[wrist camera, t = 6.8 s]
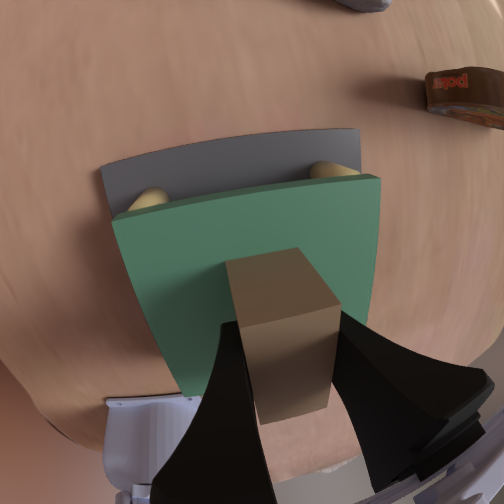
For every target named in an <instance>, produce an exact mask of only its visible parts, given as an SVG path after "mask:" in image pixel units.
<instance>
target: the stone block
mask: <svg viewBox="0 0 504 504" xmlns="http://www.w3.org/2000/svg"><path fill="white" fill-rule="evenodd" d="M334 1H336V2H338V3H340V4H342V5H345V6H347V7H349V8H352V9H354V10H357V11H360V12H363V13H365V12H368V13H373V12H382V11H384V10H385V9H386V8H387V7H389V6H390V4H391V2H392V0H334Z"/></svg>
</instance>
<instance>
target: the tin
mask: <svg viewBox="0 0 504 504" xmlns="http://www.w3.org/2000/svg"><path fill="white" fill-rule="evenodd" d="M425 87H426V95H427V102H428V106H427V110H428V111H429V112H431V113H434V114H438V115H443V116H448V117H452V118H457V119H461V120H465V121H469V122H473V123H476V124H480V125H483V126H487V127H492V128H496V129H501V130H504V72H502V71H498V70H494V69H490V68H483V67H464V68H460V69H452V70H444V71H439V72H429V73H427V74H426V76H425Z"/></svg>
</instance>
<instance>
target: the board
mask: <svg viewBox="0 0 504 504" xmlns="http://www.w3.org/2000/svg"><path fill="white" fill-rule="evenodd" d="M380 192H381V178H379V177H376V176H374V175H371V174H357V175H346V176H335V177H326V178H316V179H308V180H299V181H291V182H284V183H276V184H269V185H262V186H256V187H249V188H243V189H237V190H231V191H225V192H219V193H213V194H208V195H202V196H197V197H192V198H187V199H182V200H177V201H172V202H167V203H163V204H158V205H153V206H149V207H144V208H140V209H136V210H132V211H127V212H123V213H119V214H117V216H116V217H115V218H114V219H113V220H112V221H111V223H112V227H113V230H114V233H115V236H116V240H117V243H118V246H119V249H120V252H121V255H122V258H123V261H124V264H125V267H126V270H127V272H128V275H129V278H130V281H131V283H132V286H133V289H134V291H135V294H136V296H137V299H138V301H139V304H140V306H141V309H142V311H143V313H144V316H145V318H146V320H147V323H148V325H149V327H150V330H151V332H152V334H153V336H154V338H155V341H156V343H157V345H158V347H159V349H160V351H161V353H162V355H163V357H164V359H165V361H166V363H167V365H168V367H169V369H170V371H171V373H172V375H173V377H174V379H175V381H176V383H177V385H178V386H179V388H180V390H181V392H182V394H183V396H184V397H185V398H186V397H194V396H202V395H204V393H205V390H206V388H207V385H208V382H209V379H210V375H211V372H212V369H213V366H214V362H215V358H216V354H217V349H218V344H219V338H220V326H221V324H222V323H225V322H230V321H236V320H237V323H238V327H239V331H240V336H241V340H242V344H243V349H244V354H245V359H246V363H247V368H248V373H249V377H250V382H251V387H252V391H253V397H254V401H255V405H256V410H257V414H258V418H259V422H260V425H263V424H268V423H272V422H277V421H281V420H285V419H289V418H292V417H296V416H300V415H303V414H307V413H310V412H313V411H317V410H320V409H323V408H326V407H327V404H328V399H329V393H330V388H331V382H332V376H333V370H334V363H335V357H336V349H337V342H338V334H339V325H340V316H341V310H342V311H344V312H345V313H347V314H348V315H350V316H351V317H352V318H354V319H355V320H357V321H358V322H360V323H361V324H363V325H364V326H366V322H367V317H368V311H369V305H370V299H371V293H372V286H373V278H374V271H375V262H376V253H377V243H378V230H379V215H380Z"/></svg>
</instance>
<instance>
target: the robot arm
mask: <svg viewBox="0 0 504 504" xmlns="http://www.w3.org/2000/svg"><path fill="white" fill-rule="evenodd" d="M332 383H333V385H334V387H335V388H336V390H337V392H338V394H339V396H340V397H341V399H342V401H343V403H344V405H345V407H346V409H347V412H348V414H349V417H350V419H351V422H352V424H353V427H354V430H355V432H356V435H357V438H358V441H359V444H360V447H361V450H362V453H363V456H364V459H365V462H366V466H367V469H368V473H369V477H370V480H371V484H372V487H373V490H374V492H375V493H378V492H380V493H378V494H375V495H373V496H371V497H369V498H367V499H364V500H362V501H360V502H357V503H355V504H391V503H393V502H395V501H397V500H399V499H401V498H402V497H404V496H406V495H408V494H410V493H411V492H413V491H415V490H416V489H418V488H420V487H421V486H423V485H424V484H426V483H428V482H429V481H431V480H432V479H434V478H435V477H436V476H438V475H440V474H441V473H442V472H444V471H445V470H447V469H448V470H447V474H446V476H445V477H444V478H442V479H441V480H439V481H438V482H436V483H434V484H433V485H431V486H430V487H428V488H427V489H425V490H424V491H422V492H420V493H419V494H417V495H416V496H414V498H413V499H414V502H415V504H489V502H490V501H491V499H492V498H493V497H494V496H495V495H496V493H497V492H498V491H499V490H500V488H501V487H502V486H503V485H504V404H503V405H502V406H501V407H500V408H499V409H498V410H497V411H496V412H495V413H494V414H493V415H492V416H491V417H490V418H489V419H488V420H487V421H486V422H485V423H483V424H482V425H481V424H480V423H479V421H478V419H479V418H480V414H479V413H478V411H477V410H478V409H479V408H480V406H481V405H482V404H483V403H484V402H485V400H486V399H487V398H488V397H489V395H490V394H491V393H492V391H493V390H494V387H495V384H494V382H493V381H492V380H491V379H490V377H489V376H488V375H487V374H486V373H485V371H484V370H483V369H479V368H472V367H465V366H459V365H455V364H451V363H447V362H443V361H439V360H436V359H433V358H430V357H427V356H424V355H421V354H418V353H416V352H413V351H411V350H409V349H407V348H404V347H402V346H400V345H398V344H396V343H394V342H392V341H390V340H388V339H386V338H385V337H383V336H381V335H379V334H377V333H376V332H374V331H372V330H371V329H369V328H368V327H366V326H364V325H363V324H361V323H360V322H358V321H357V320H355V319H354V318H352V317H351V316H350V315H348V314H347V313H345V312H344V311H342V310H341V316H340V325H339V334H338V342H337V349H336V357H335V363H334V370H333V376H332ZM106 404H107V405H108V407H109V411H108V417H107V424H106V431H105V438H104V446H103V465H104V470H105V473H106V476H107V478H108V479H109V481H110V483H111V484H112V485H113V486H114V487H115V488H117V489H119V490H121V492H119V493H117V494H116V499H115V500H116V501H115V504H277V500H276V497H275V493H274V490H273V486H272V482H271V479H270V475H269V471H268V467H267V464H266V460H265V456H264V452H263V448H262V444H261V440H260V436H259V432H258V427H257V420H256V413H255V406H254V398H253V391H252V387H251V382H250V377H249V373H248V368H247V363H246V359H245V354H244V349H243V344H242V340H241V336H240V331H239V327H238V323H237V320H236V321H230V322H225V323H222V324H221V326H220V338H219V344H218V349H217V354H216V358H215V362H214V366H213V369H212V372H211V375H210V379H209V382H208V385H207V388H206V390H205V393H204V395H203V398H201V396H194V397H186V398H185V397H184V396H183V394H175V395H164V396H153V397H137V398H109V399H106ZM398 482H399V483H398ZM396 483H398V484H396ZM395 484H396V485H395ZM393 485H394V486H393ZM391 486H392V487H391ZM389 487H390V488H389ZM387 488H388V489H387ZM385 489H386V490H385ZM383 490H384V491H383ZM381 491H382V492H381Z"/></svg>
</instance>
